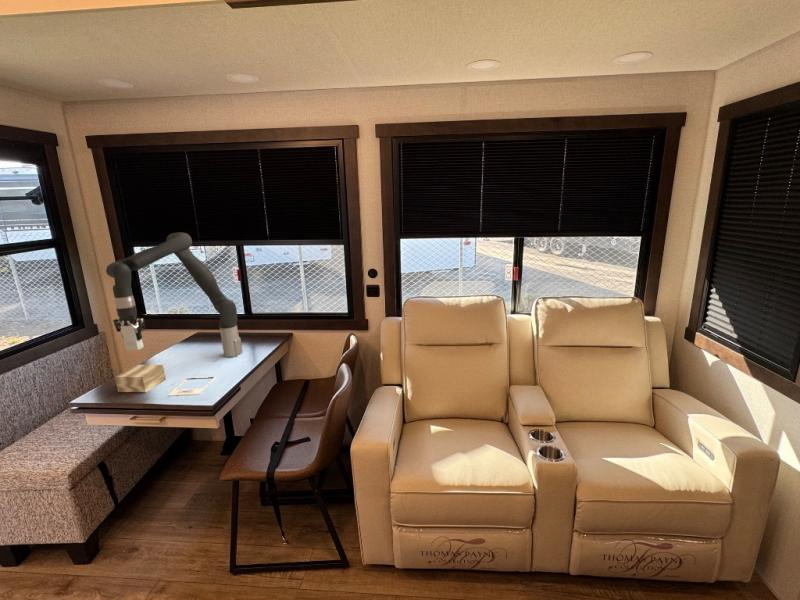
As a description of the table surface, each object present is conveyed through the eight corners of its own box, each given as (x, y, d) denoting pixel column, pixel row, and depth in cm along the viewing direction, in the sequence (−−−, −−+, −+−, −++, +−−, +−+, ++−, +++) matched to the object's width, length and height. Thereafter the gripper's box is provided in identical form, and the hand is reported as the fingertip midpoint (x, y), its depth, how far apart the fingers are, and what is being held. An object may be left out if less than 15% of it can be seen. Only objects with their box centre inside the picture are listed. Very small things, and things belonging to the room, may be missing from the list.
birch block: (165, 379, 197) (162, 364, 195) (145, 392, 183) (142, 377, 181) (140, 379, 198) (136, 364, 196) (118, 392, 185) (114, 377, 183)
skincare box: (144, 347, 188) (139, 323, 185) (138, 350, 184) (133, 326, 181) (131, 347, 188) (126, 323, 185) (125, 350, 184) (119, 326, 181)
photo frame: (167, 394, 179) (186, 377, 196) (168, 397, 179) (186, 379, 197) (199, 393, 180) (215, 376, 197) (200, 395, 180) (216, 378, 197)
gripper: (145, 303, 184) (152, 337, 188) (117, 303, 185) (124, 337, 189) (134, 307, 176) (141, 342, 181) (104, 307, 178) (112, 342, 182)
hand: (132, 339), depth 185 cm, fingers closed on skincare box, 6 cm apart
